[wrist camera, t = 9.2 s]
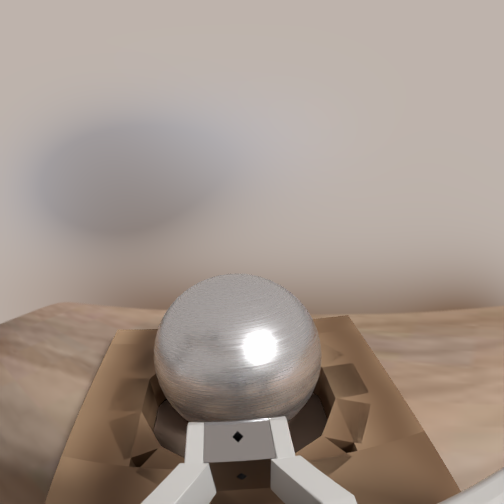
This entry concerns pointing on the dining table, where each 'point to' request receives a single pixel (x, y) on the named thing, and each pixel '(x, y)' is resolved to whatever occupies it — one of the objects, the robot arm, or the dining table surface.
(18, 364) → the dining table surface
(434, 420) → the dining table surface
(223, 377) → the ball
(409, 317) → the dining table surface
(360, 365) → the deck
